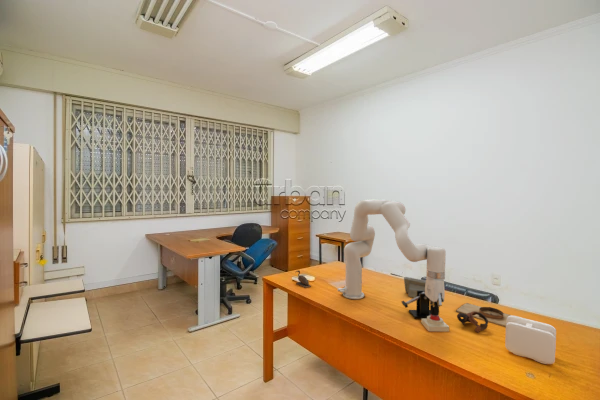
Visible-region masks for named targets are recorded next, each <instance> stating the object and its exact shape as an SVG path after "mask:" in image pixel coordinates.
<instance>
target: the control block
mask: <svg viewBox="0 0 600 400" xmlns="http://www.w3.org/2000/svg"><path fill="white" fill-rule="evenodd" d="M420 321H421V324H422V326H423V327H424V328H425V329H426V330H427V331H428V332H445V333H447V332H450V326H449V325H448V324H447V323H446V322H445V321H444V319H443V318H442V317H440V316H439V321H435V320H432V319H431V315H430V316H427V318H421V319H420Z"/></svg>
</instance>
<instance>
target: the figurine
mask: <svg viewBox="0 0 600 400" xmlns="http://www.w3.org/2000/svg"><path fill="white" fill-rule="evenodd" d="M296 272H297V273H298V274H297V275H298V277H297V279H298V282H296V285H297V286H300V287H302V288H305V289H307V288H311V286H312V285H311V284H310V282H309V280H308V278H306V277H305V275H302V274H301V271H300V270H296V271H295V274H296ZM300 274H301V275H300Z"/></svg>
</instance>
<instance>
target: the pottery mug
mask: <svg viewBox="0 0 600 400" xmlns="http://www.w3.org/2000/svg"><path fill="white" fill-rule="evenodd" d="M476 314H477V315H479V317H481V318H483V319H484V320H485V321H484V320H483V321H484V323H480V324H479V321H477V320H476V318H475V317H473V315H476ZM456 318H457V320H458V322H460V323H461V324H462V325H463V326H465V324H466V323H469V324H472V325H474V326H475V329H474V332H475V333H480V332H482V331H485V330H486V329H488V326H489V322H488V320H487V318H486V317H485V316H484V315H483V314H481V313H479V312H476V311H473V312H470V313H467V314H464V313H457V315H456Z"/></svg>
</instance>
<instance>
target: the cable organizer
mask: <svg viewBox="0 0 600 400" xmlns="http://www.w3.org/2000/svg"><path fill="white" fill-rule="evenodd" d="M510 315H511V316H508V318H507V325H506V327H505V339H504V341H505V342H504V343H505V345H504V346H505V349H506V350H507V351H508V352H510V353H512V354H513V355H516V356H518V357H522V358H528V359H531V360H534V361H535V362H538V363H541V364H543V365H553V364H555V362H556V350H557V349H556V348H557V329H556V328H555V327H554V326H553V325H551V324H549V323H546V322H541V321H537V320H535V319H534V320H533V319H529V318H525V317H521V316H518V315H514V314H513V315H512V314H510Z"/></svg>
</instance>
